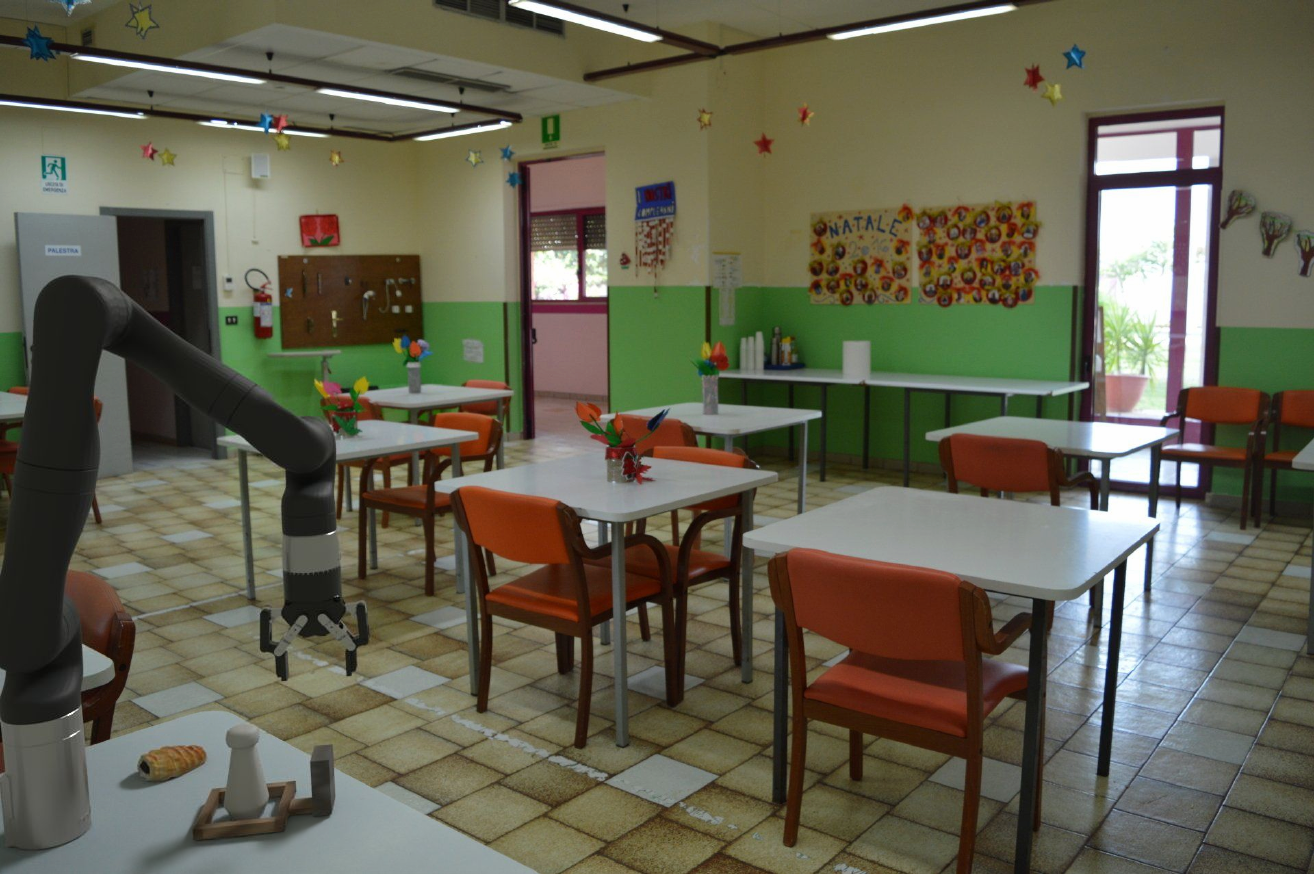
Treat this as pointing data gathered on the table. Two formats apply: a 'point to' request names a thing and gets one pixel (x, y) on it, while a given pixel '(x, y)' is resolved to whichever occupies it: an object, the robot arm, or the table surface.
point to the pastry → (170, 762)
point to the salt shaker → (245, 775)
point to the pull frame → (288, 806)
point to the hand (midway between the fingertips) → (317, 676)
